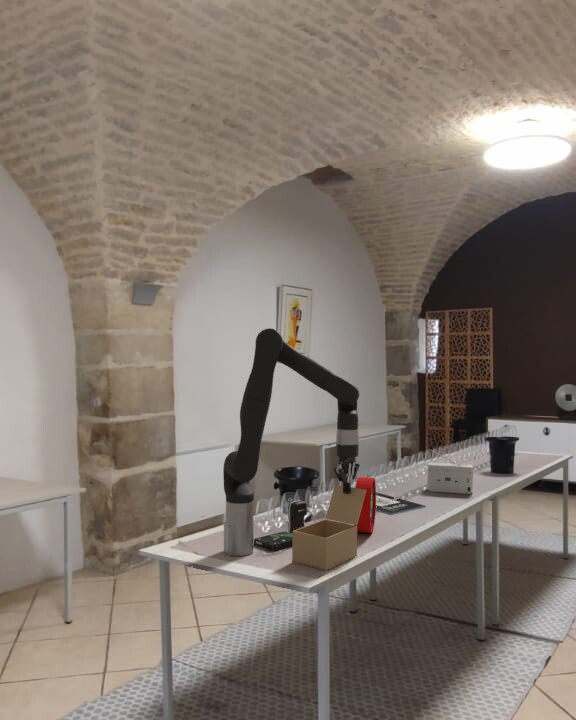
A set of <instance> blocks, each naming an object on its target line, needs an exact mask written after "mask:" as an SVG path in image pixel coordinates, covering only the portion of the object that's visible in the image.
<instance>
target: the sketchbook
mask: <svg viewBox="0 0 576 720" xmlns="http://www.w3.org/2000/svg"><path fill="white" fill-rule="evenodd" d="M392 499H394V496H392V495H391V496H390V495H388V494H385V493H380V492H377V491H376V506H377V505H378V506H377V508H376V512H378V513H379V512H380V513H384V514H387V515H396V514H401V513H406V512H411V511H414V510H415V511H416V510H419V509H424V508H426V507H427V506H426V505H424V504H420V503H418V502H417V503H416V502H413V501H411V500H410V501H409V500H406V499H403V498H399V499H397V500H393V501H392Z"/></svg>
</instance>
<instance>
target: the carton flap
mask: <svg viewBox="0 0 576 720" xmlns="http://www.w3.org/2000/svg"><path fill="white" fill-rule="evenodd" d="M365 493H366V490H364V489H358V488H355V487H352V486H351V493H349V494H344V493H343V485H339V484H334V488H333V491H332V494H331V497H330V501H329V505H328V508H327V511H326V512H327V513H326V515H325V520H330V521H335V522H340V523H345V524H350V525H357V524H358V520H359V516H360V512H361V509H362V505H363V501H364V497H365Z"/></svg>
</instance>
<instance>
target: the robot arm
mask: <svg viewBox="0 0 576 720" xmlns="http://www.w3.org/2000/svg"><path fill="white" fill-rule="evenodd" d="M281 334H282V333H280V332H279V331H278V330H276V329H275V328H265V329H263V330H260V332H259V333H258V334H257V335H256V338H255V348H254V354H253V356H254V358H253V363H252V368H251V370H250V371H251V372H250V374H249V376H248V380H247V381H246V385H245V389H244V391H243V392H244V393H243V396H242V400H241V404H240V410H239V422H240V423H239V424H240V441H239V445H238V449H237V450H235V451H232V452H230V453H228V454H227V456H226V457H225V459H224V462H223V471H222V472H223V473H222V474H223V491H224V494H225V522H223V551H224V552H225V554H226V555H227V556H234V557H238V556H239V557H243V556H249V555H251V554H253V553H254V514H255V511H254V507H255V505H254V504H255V499H254V497H255V496H254V495H255V494H254V491H253V489H252V487H251V483H250V481H252V480H253V479H254V478H255V477H256V474H257V471H258V468H259V463H260V462H259V459H260V453H261V445H262V444H261V443H262V438H263V436H264V430H265V425H266V422H267V418H268V414H269V410H270V405H271V400H272V394H273V384H274V375H275V369H276V366H277V362H279V363H280V364H282V365H284V366H285V367H288V368H289V369H291V370H292V371H294V372H296V373H297V374H298V375H300V376H301V377H303V378H304V379H306V381H308V382H310V383H311V384H313V385H315V386H316V387H318V388H320V389H321V390H323V391H325V392H326V393H328V394H330V395H331V396H332V397H333V398H335V399H336V400H337V419H336V428H337V429H336V438H335V440H336V441H335V445H336V446H335V448H336V450H335V455H336V457H338V461H337V463H338V466H337V467H334V468H333V470H334V473H335V476H336V477H337V479H338V481H339V482H342V486H343V493H344V494H349V493H351V487H352V482H353V480H355V479H356V477H357V473H358V471H359V469H360V464H359V463H357V459H356V458H357V457H359V445H360V443H359V442H360V441H359V438H360V436H359V435H360V434H359V415H358V400H359V398H360V391H359V389H358V387H357V386H356V385H355V384H354V383H351V382H349V381H348V380H346V379H344V378H343V377H341V376H339V375H338V374H336V373H335V372H334V371H332V369H330V368H328V367H326V366H325V365H323V364H321V363H320V362H319V361H317V360H314V359H313V358H310V357H309V356H307V355H304V354H303V353H302V352H299V351H298V350H296V349H295V348H293V347H292V346H290V344H288V343H287V342H286V341H285V340H284V339H283V336H282V335H281Z"/></svg>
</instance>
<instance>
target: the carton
mask: <svg viewBox="0 0 576 720" xmlns="http://www.w3.org/2000/svg"><path fill="white" fill-rule="evenodd" d="M292 534H293V542H292V551H291V553H292V555H291V556H292V557H291V560H292V561H291V562H292V563H294V564H297V565H301V566H305V567H309V568H314V569H317V570H321V571H324V570H326V571H325V572H327V571H329V570H331V569H333V568H332V567H334V566H336V567H337V565H338V564H340V563H342V562H344V563H345V561H346V562H348V561H350V560H352V559H354V558H356V557H358V532H357V526H355V525H354V524H349V523H344V522H339V521H334V520H329V519H326V518H323V519H321V520H318V521H316V522H313V523H310V524H308V525H304V527H302V528H299V529H297V530H294V531H293V533H292ZM355 556H356V557H355ZM353 557H354V558H353ZM351 558H352V559H351ZM349 559H350V560H349ZM347 560H348V561H347ZM342 564H343V563H342ZM340 565H341V564H340ZM338 566H339V565H338ZM334 568H335V567H334ZM328 569H329V570H328Z"/></svg>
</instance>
